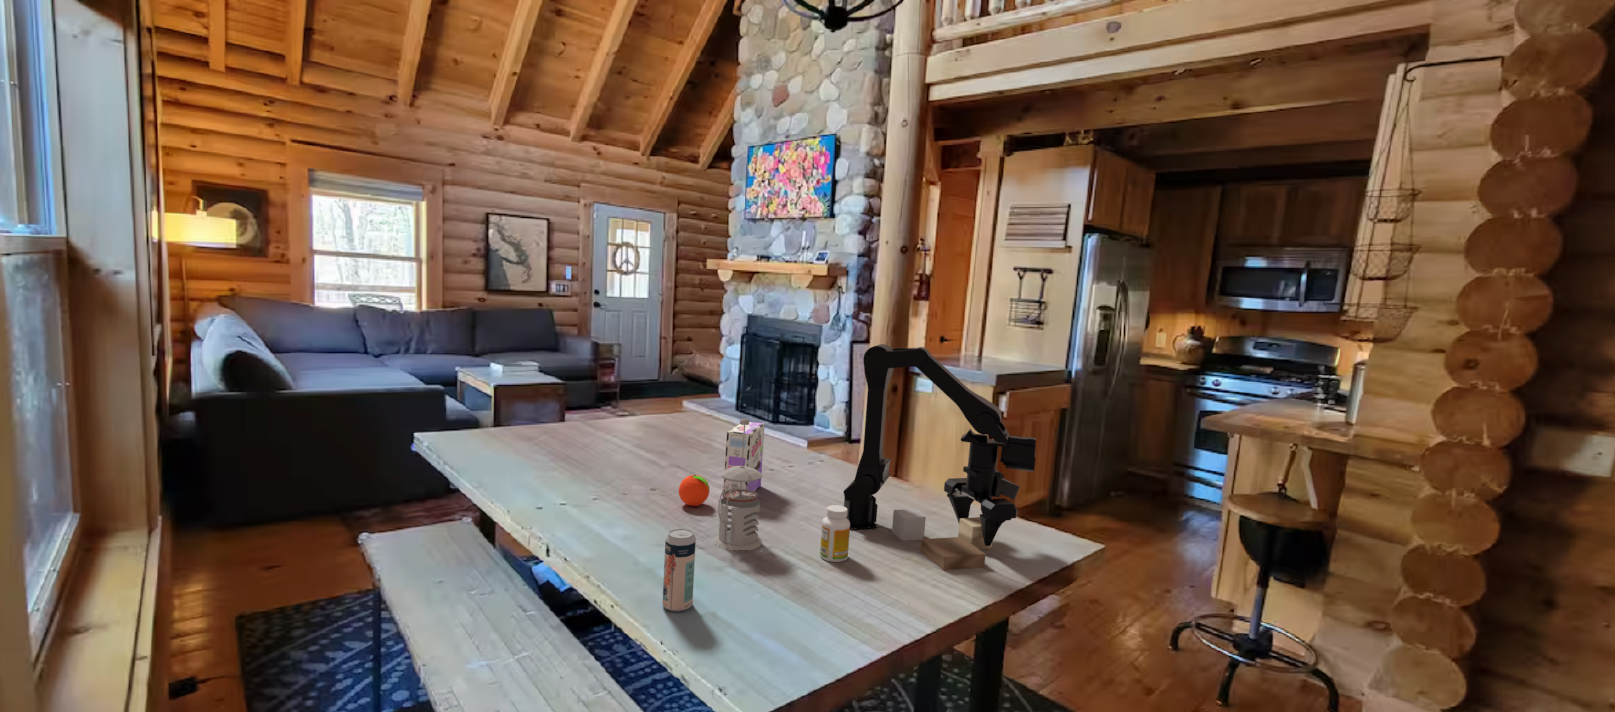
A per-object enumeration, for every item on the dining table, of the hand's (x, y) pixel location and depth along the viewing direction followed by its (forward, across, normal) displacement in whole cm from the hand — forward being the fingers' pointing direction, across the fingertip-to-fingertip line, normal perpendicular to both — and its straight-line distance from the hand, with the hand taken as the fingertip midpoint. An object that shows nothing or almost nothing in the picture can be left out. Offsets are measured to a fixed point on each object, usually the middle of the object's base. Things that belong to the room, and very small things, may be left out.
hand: (975, 537), depth 145 cm
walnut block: (+2, -6, +9) cm, 11 cm away
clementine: (+2, +32, +53) cm, 62 cm away
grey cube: (+2, +7, +12) cm, 14 cm away
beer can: (+2, -15, +64) cm, 66 cm away
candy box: (+2, +40, +40) cm, 57 cm away
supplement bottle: (+2, -1, +32) cm, 32 cm away
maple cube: (+2, 0, 0) cm, 2 cm away
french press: (+2, +9, +49) cm, 50 cm away
